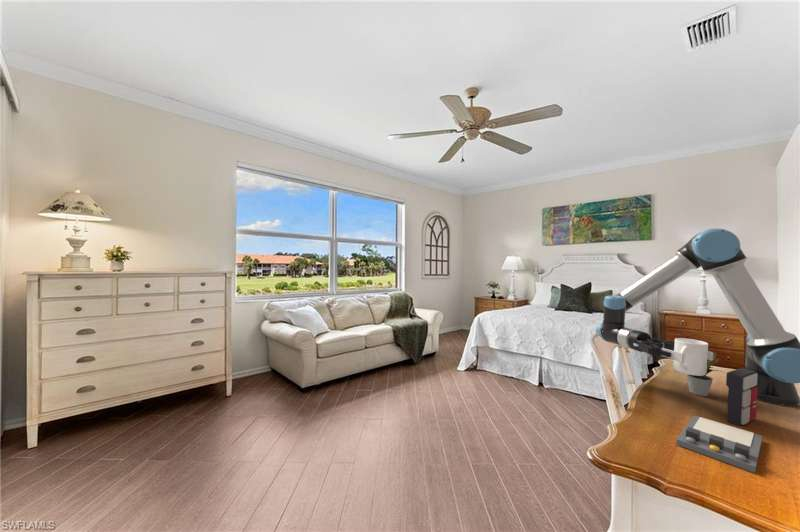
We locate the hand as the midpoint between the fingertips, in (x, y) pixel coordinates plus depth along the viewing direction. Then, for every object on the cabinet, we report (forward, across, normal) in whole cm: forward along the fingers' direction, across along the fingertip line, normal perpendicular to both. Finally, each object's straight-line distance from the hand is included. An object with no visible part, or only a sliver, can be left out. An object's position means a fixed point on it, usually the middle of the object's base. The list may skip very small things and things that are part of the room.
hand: (697, 357), depth 104 cm
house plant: (-13, -20, -18) cm, 30 cm away
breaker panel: (+15, +13, -18) cm, 27 cm away
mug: (-3, 0, -6) cm, 7 cm away
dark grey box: (+7, -9, -18) cm, 21 cm away
